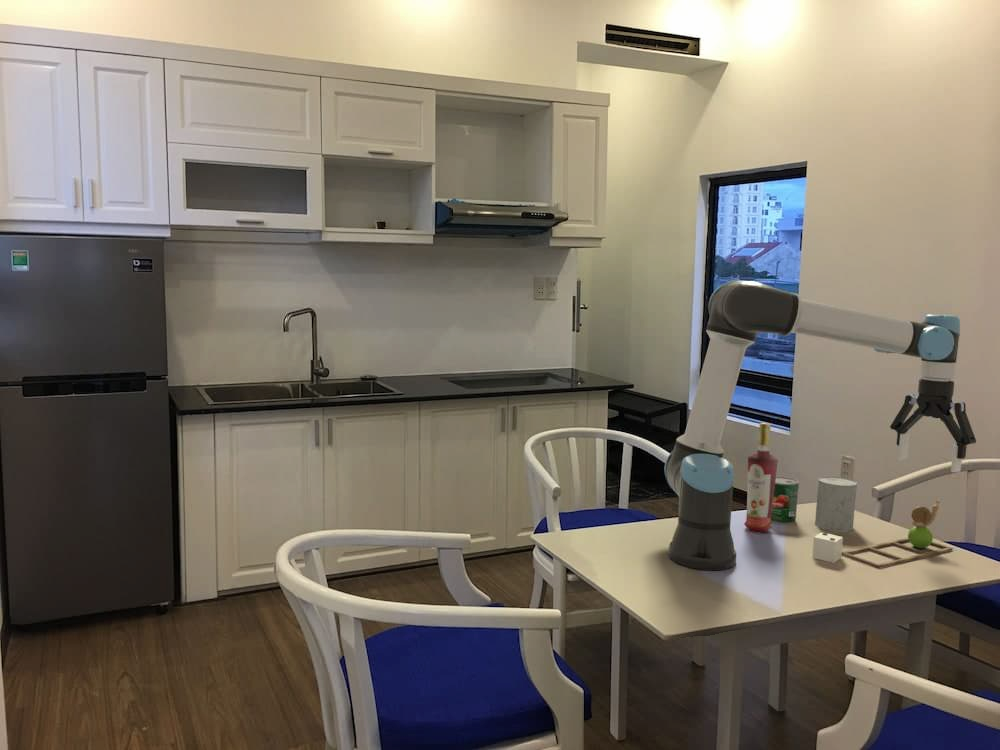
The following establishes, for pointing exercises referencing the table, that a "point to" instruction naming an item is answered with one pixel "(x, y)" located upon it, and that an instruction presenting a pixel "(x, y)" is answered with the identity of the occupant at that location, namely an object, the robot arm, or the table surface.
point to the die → (827, 547)
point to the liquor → (761, 484)
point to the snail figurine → (922, 526)
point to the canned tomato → (784, 501)
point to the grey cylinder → (835, 504)
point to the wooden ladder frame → (898, 559)
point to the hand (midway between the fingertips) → (928, 465)
